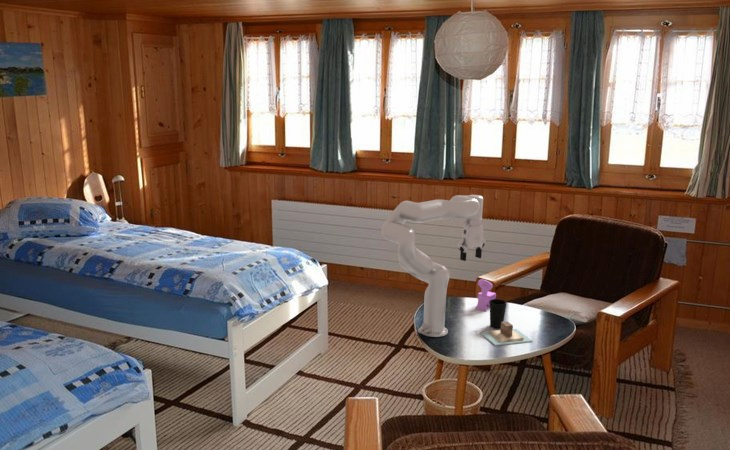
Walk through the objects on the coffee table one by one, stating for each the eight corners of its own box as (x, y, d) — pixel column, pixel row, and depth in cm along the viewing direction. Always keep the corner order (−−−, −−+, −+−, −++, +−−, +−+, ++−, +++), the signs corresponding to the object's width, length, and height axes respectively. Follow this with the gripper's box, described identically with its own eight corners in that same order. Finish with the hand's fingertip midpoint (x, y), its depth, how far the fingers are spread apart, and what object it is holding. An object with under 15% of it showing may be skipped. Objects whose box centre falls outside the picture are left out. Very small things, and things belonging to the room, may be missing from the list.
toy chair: (497, 307, 327) (499, 278, 324) (488, 311, 321) (490, 282, 317) (483, 303, 332) (484, 275, 329) (473, 307, 326) (475, 278, 323)
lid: (500, 342, 282) (501, 329, 280) (488, 332, 292) (489, 320, 291) (523, 340, 285) (524, 327, 283) (510, 330, 295) (511, 318, 294)
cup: (504, 330, 297) (506, 305, 294) (487, 328, 299) (489, 303, 296) (504, 324, 304) (506, 299, 302) (488, 322, 306) (489, 298, 303)
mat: (495, 345, 279) (495, 344, 279) (480, 333, 292) (480, 332, 292) (532, 341, 285) (532, 340, 284) (516, 330, 298) (516, 328, 298)
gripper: (465, 225, 287) (462, 263, 290) (492, 222, 297) (489, 258, 300) (453, 222, 293) (451, 259, 296) (480, 219, 303) (478, 254, 306)
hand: (470, 258), depth 298 cm, fingers open, 9 cm apart
